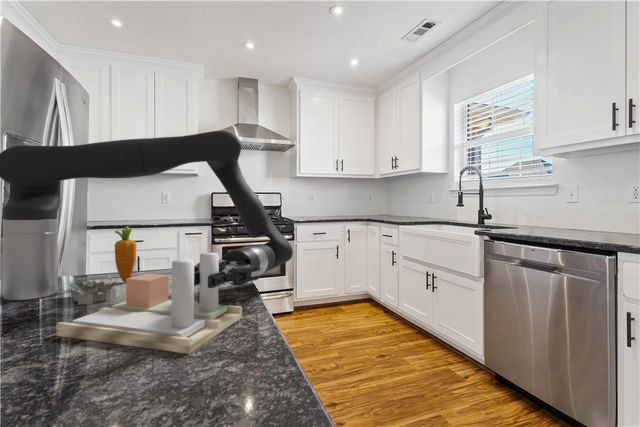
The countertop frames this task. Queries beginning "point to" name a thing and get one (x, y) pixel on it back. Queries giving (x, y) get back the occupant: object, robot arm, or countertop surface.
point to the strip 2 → (207, 295)
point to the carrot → (125, 254)
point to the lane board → (152, 339)
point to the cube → (146, 290)
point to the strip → (157, 324)
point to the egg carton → (92, 291)
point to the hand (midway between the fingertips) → (200, 281)
